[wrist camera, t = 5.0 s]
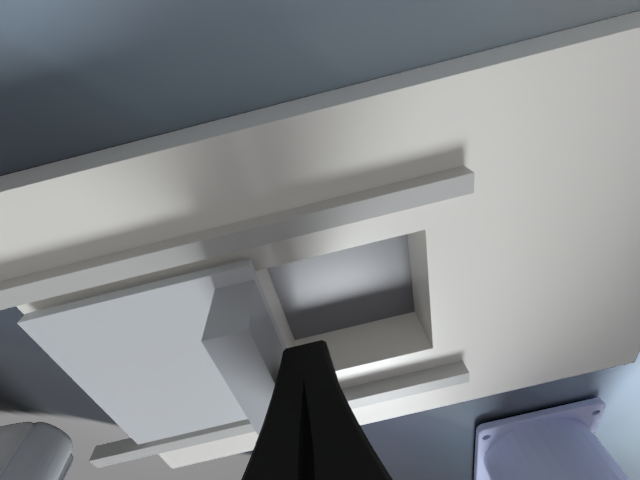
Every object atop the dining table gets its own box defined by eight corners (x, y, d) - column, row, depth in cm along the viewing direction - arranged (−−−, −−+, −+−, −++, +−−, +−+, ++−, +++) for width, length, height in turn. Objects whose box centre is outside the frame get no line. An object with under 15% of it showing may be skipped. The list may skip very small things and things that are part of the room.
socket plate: (590, 322, 17) (647, 373, 15) (149, 425, 18) (126, 492, 15) (685, -2, 10) (832, -17, 7) (-62, 192, 11) (-175, 242, 8)
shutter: (306, 395, 13) (310, 459, 11) (141, 434, 14) (116, 503, 12) (249, 258, 10) (241, 315, 8) (25, 313, 10) (-40, 382, 8)
